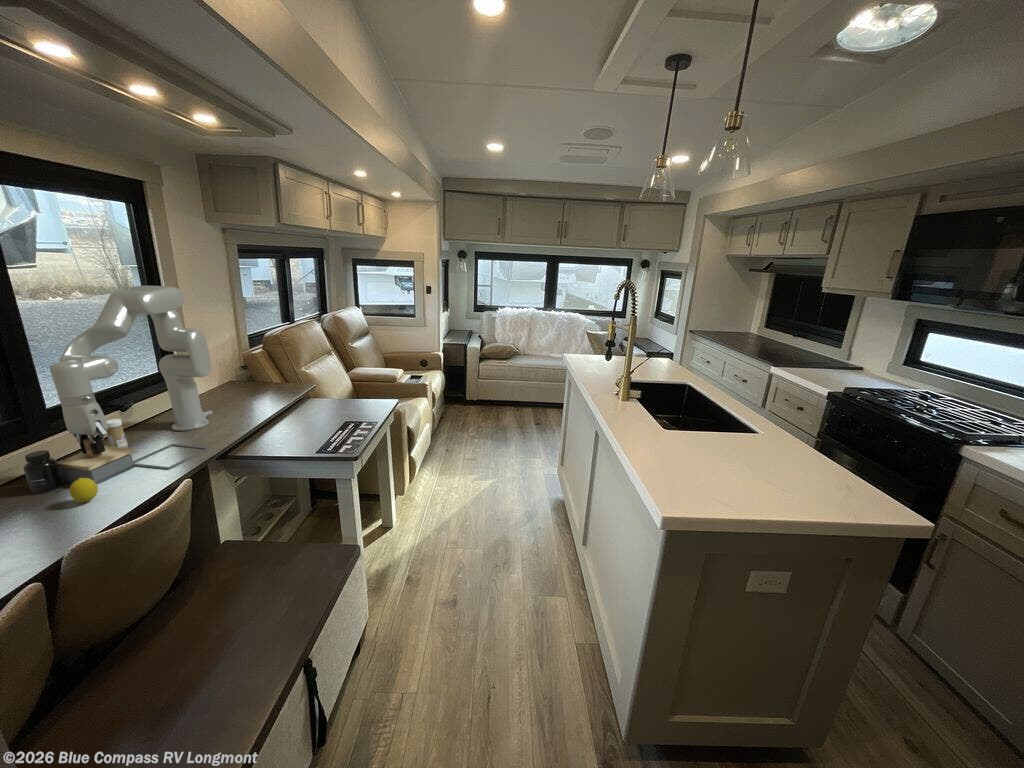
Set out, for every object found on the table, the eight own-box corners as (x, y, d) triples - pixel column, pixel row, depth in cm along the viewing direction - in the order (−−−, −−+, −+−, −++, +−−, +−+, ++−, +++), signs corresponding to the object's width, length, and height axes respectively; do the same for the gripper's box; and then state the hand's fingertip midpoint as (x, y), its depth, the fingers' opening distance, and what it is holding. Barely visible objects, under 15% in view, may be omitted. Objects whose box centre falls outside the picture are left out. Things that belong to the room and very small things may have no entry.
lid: (102, 448, 139) (96, 429, 137) (133, 452, 137) (128, 432, 135) (55, 466, 127) (48, 445, 124) (89, 470, 125) (82, 450, 122)
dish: (105, 464, 140) (101, 451, 138) (134, 467, 138) (131, 454, 137) (63, 481, 128) (59, 467, 127) (95, 485, 127) (91, 471, 125)
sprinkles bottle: (128, 455, 146) (119, 421, 142) (111, 458, 144) (101, 424, 140) (131, 450, 150) (122, 417, 146) (114, 453, 147) (105, 419, 143)
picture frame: (172, 444, 155) (172, 443, 155) (211, 448, 153) (211, 447, 153) (126, 465, 139) (126, 464, 139) (168, 469, 137) (168, 468, 137)
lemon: (86, 497, 121) (78, 473, 118) (106, 496, 121) (98, 473, 119) (68, 507, 115) (60, 483, 113) (89, 507, 116) (81, 482, 113)
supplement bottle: (34, 496, 120) (21, 460, 117) (29, 489, 124) (16, 454, 120) (67, 486, 126) (55, 452, 122) (61, 480, 129) (49, 446, 126)
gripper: (113, 397, 128) (127, 449, 134) (70, 394, 130) (86, 445, 136) (86, 405, 121) (102, 460, 126) (41, 401, 123) (59, 455, 129)
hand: (94, 451), depth 131 cm, fingers closed on lid, 3 cm apart
